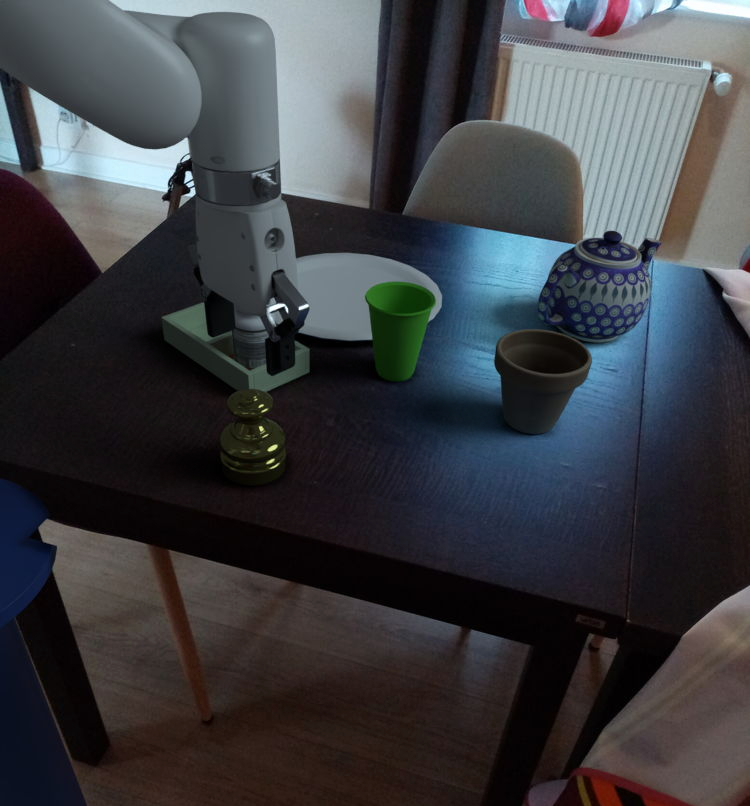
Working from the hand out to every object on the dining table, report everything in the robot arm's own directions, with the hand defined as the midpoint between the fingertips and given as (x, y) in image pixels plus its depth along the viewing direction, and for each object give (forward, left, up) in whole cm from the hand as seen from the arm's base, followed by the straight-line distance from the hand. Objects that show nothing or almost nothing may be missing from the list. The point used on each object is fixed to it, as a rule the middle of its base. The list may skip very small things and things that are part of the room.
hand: (250, 350), depth 80 cm
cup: (+27, +4, -15) cm, 31 cm away
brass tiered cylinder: (0, 0, -15) cm, 15 cm away
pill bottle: (+13, +16, -15) cm, 25 cm away
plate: (+36, +23, -15) cm, 45 cm away
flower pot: (+32, -15, -15) cm, 38 cm away
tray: (+13, +21, -15) cm, 29 cm away
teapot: (+59, -6, -15) cm, 61 cm away
